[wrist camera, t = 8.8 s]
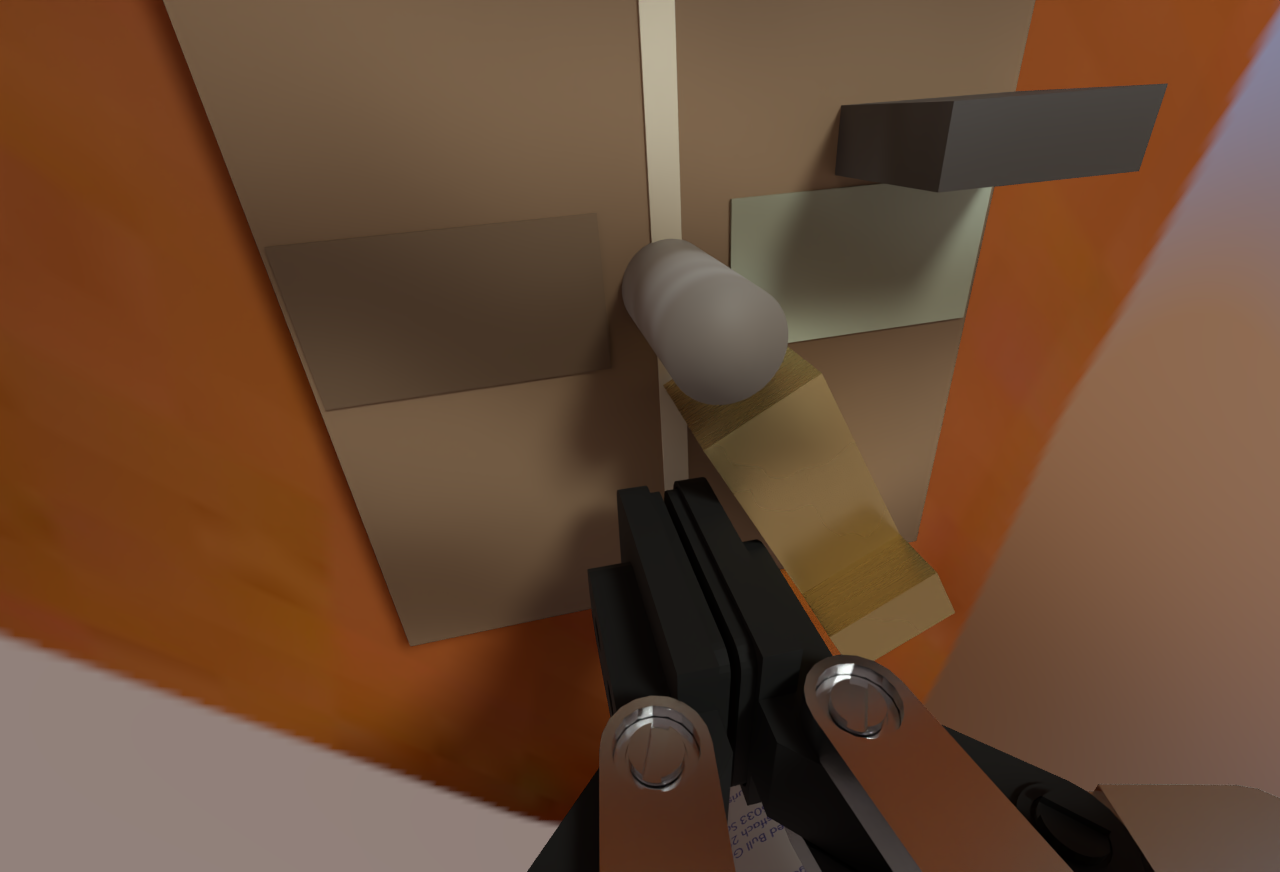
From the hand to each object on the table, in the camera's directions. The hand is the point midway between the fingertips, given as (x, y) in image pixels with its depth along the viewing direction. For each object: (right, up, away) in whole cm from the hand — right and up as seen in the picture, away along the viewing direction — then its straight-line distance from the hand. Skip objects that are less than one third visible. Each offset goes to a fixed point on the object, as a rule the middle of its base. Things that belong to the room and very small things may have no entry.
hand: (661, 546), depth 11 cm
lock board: (0, +5, 0) cm, 5 cm away
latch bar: (+2, +2, +1) cm, 3 cm away
